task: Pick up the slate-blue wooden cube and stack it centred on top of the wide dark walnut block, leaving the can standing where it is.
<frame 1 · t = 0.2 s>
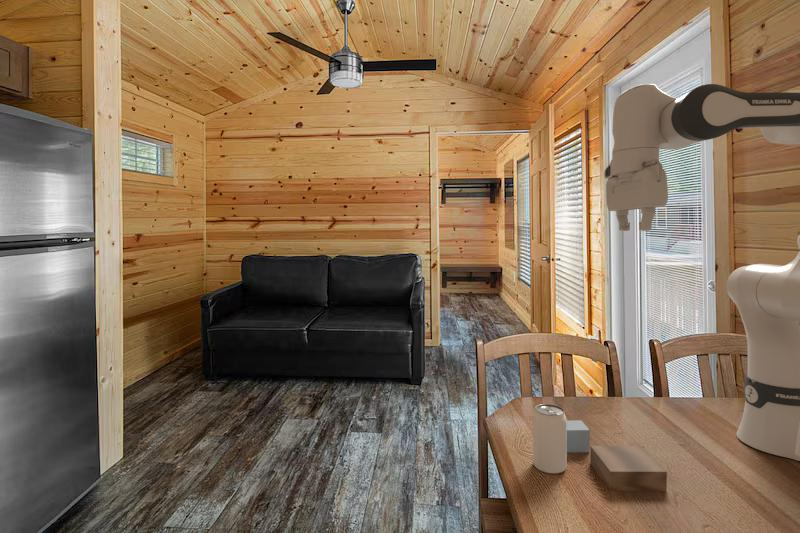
hand: (634, 230, 96), 47 cm above the table, tool pointing down, fingers open, 8 cm apart
walnut block: (626, 477, 87), on the table
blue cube: (573, 447, 99), on the table
can: (549, 467, 92), on the table
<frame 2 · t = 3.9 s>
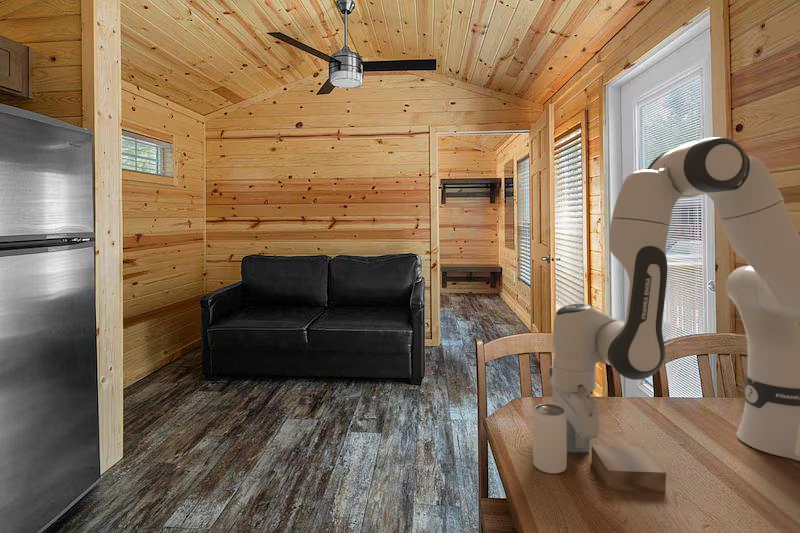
hand: (573, 439, 99), 2 cm above the table, tool pointing down, fingers closed on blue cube, 5 cm apart
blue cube: (573, 446, 99), on the table, touching gripper
everything else where it was.
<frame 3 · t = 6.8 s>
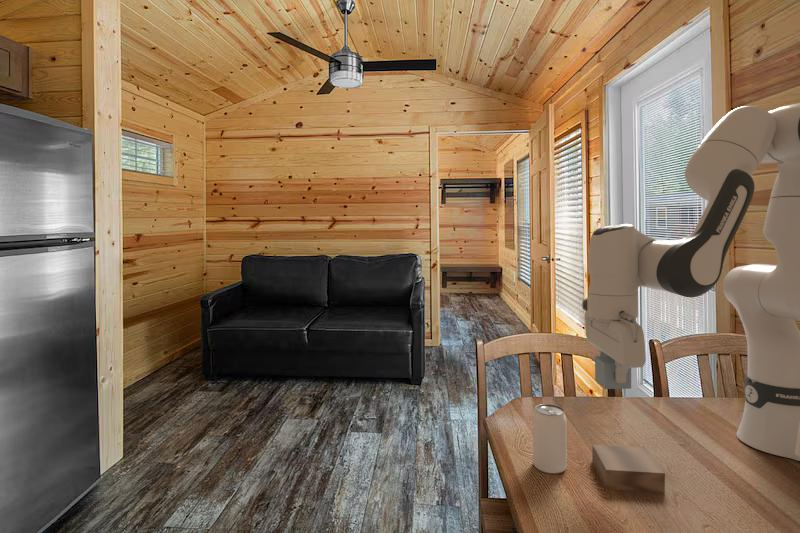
hand: (612, 376, 89), 19 cm above the table, tool pointing down, fingers closed on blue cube, 5 cm apart
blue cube: (612, 384, 89), point 17 cm above the table, touching gripper
everything else where it was.
when the fingers open (7 cm above the table, at t = 9.5 s): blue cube drops 1 cm, point 4 cm above the table.
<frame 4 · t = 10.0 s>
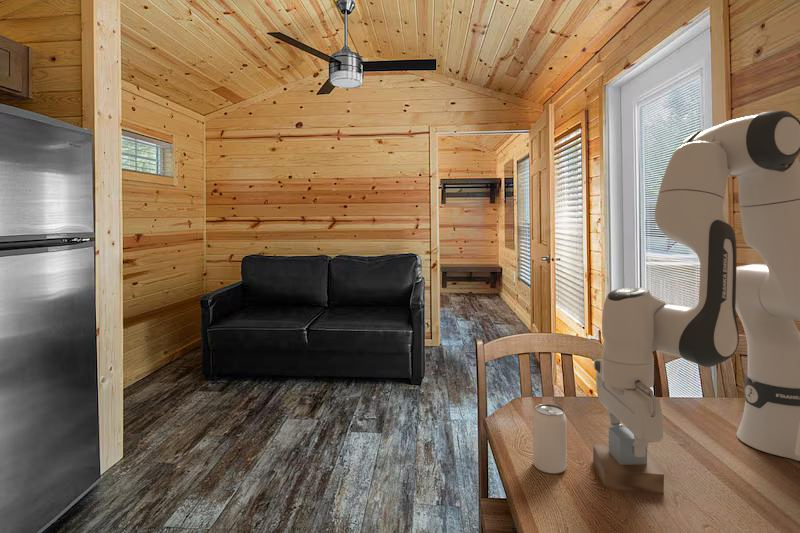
hand: (626, 443, 87), 7 cm above the table, tool pointing down, fingers open, 8 cm apart
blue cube: (627, 457, 87), point 4 cm above the table
everything else where it was.
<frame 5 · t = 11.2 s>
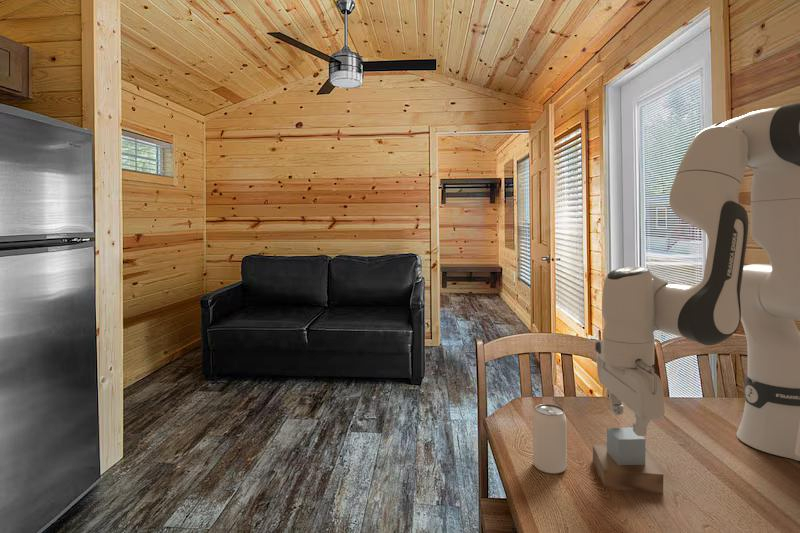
hand: (627, 423, 86), 11 cm above the table, tool pointing down, fingers open, 8 cm apart
nothing on the table moved.
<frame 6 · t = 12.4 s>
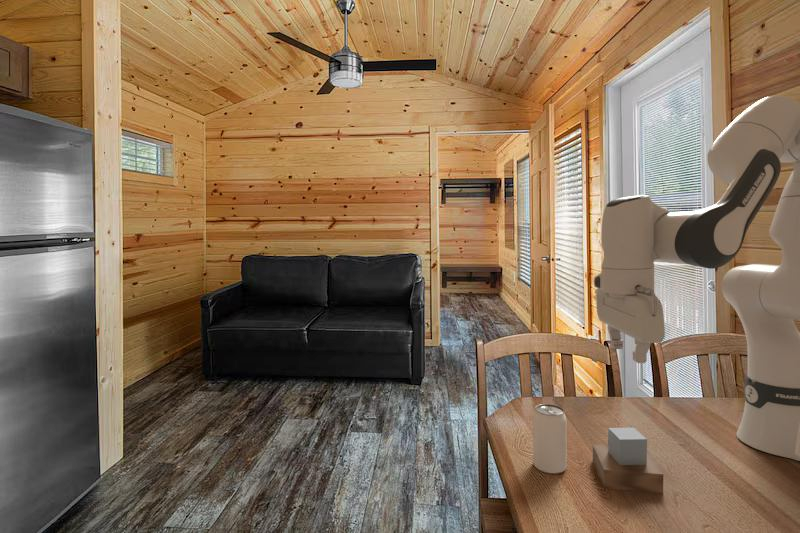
hand: (627, 354, 85), 24 cm above the table, tool pointing down, fingers open, 8 cm apart
walnut block: (625, 478, 87), on the table, touching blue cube
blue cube: (626, 458, 87), point 4 cm above the table, touching walnut block
everything else where it was.
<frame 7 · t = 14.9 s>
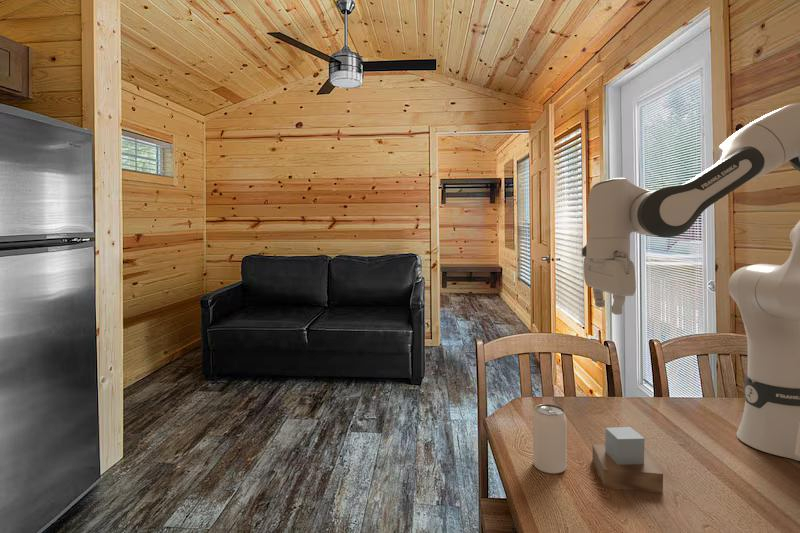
hand: (607, 310, 104), 29 cm above the table, tool pointing down, fingers open, 8 cm apart
walnut block: (625, 477, 87), on the table
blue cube: (624, 457, 87), point 4 cm above the table
everything else where it was.
at the end: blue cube 0.3 cm off-centre on the walnut block, point 4.0 cm above the walnut block's base; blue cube tilted 0°; the gripper is holding nothing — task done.
